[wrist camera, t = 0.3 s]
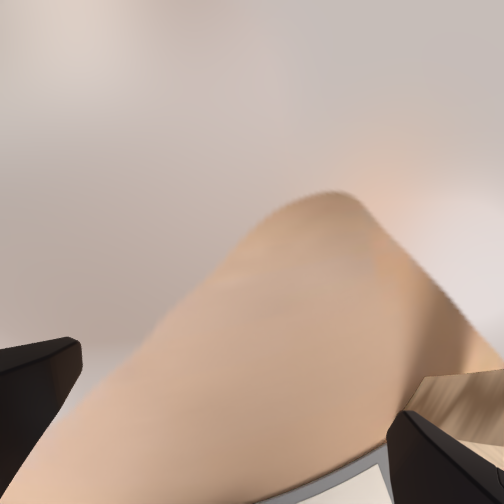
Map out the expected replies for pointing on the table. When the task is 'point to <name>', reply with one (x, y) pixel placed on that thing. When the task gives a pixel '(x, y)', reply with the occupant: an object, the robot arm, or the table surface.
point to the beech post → (466, 410)
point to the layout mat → (346, 484)
